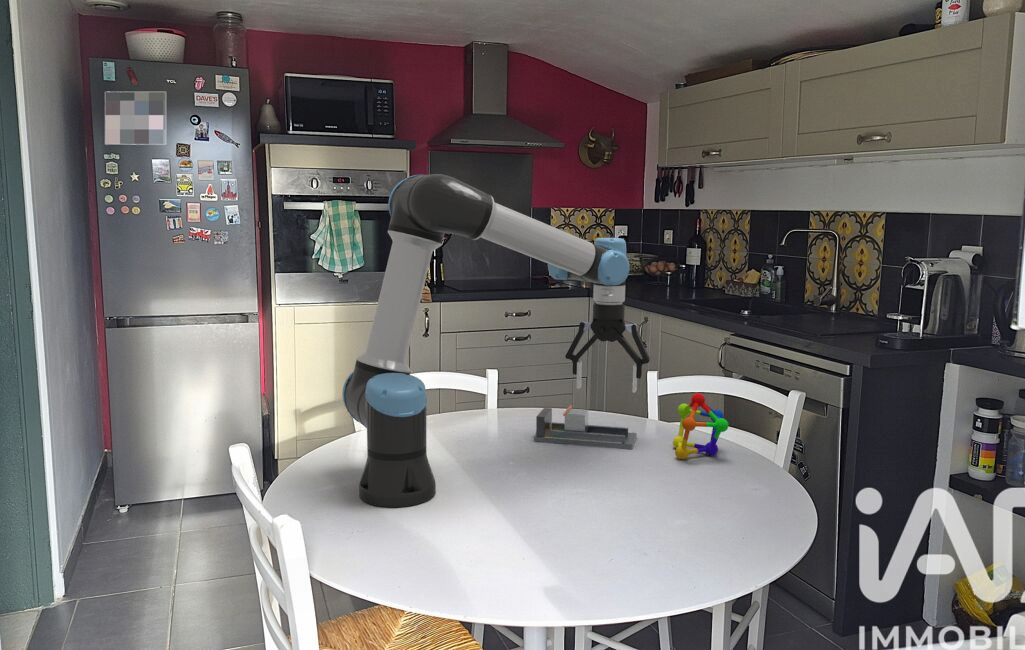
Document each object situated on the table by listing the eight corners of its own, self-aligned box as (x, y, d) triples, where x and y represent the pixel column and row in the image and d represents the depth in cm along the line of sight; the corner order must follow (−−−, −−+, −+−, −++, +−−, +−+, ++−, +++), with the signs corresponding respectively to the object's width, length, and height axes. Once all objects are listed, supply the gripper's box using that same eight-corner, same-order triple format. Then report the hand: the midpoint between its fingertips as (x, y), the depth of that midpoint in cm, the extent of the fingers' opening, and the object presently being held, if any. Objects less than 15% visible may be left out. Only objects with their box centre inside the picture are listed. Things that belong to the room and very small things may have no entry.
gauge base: (533, 441, 200) (534, 416, 199) (542, 430, 210) (542, 407, 209) (632, 449, 194) (633, 424, 193) (636, 437, 204) (637, 413, 203)
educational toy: (734, 467, 185) (740, 404, 181) (678, 468, 184) (682, 405, 180) (713, 441, 200) (718, 382, 196) (661, 442, 199) (665, 383, 195)
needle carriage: (562, 436, 198) (563, 414, 198) (569, 426, 207) (570, 405, 206) (583, 438, 197) (583, 415, 196) (589, 428, 206) (589, 406, 205)
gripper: (554, 302, 195) (553, 389, 198) (660, 306, 189) (657, 396, 192) (560, 299, 202) (559, 383, 205) (662, 303, 196) (659, 389, 199)
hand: (606, 389), depth 199 cm, fingers open, 13 cm apart
